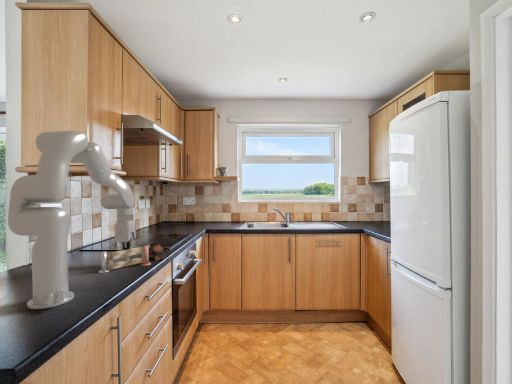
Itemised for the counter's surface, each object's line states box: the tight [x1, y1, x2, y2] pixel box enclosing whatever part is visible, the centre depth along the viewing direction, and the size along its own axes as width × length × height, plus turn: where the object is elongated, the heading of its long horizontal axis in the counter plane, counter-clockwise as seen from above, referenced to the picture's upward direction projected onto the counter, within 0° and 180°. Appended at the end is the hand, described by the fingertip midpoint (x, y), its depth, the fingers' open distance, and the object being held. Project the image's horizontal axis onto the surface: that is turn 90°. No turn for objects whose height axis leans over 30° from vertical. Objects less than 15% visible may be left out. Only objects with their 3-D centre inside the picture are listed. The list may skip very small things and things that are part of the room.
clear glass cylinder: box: [98, 251, 111, 274], centre depth 123 cm, size 4×4×9 cm
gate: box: [107, 246, 144, 271], centre depth 132 cm, size 18×2×8 cm, turn 140°
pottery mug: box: [148, 244, 171, 262], centre depth 146 cm, size 12×10×8 cm
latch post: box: [140, 245, 152, 267], centre depth 134 cm, size 4×4×9 cm
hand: (126, 255), depth 134 cm, fingers closed
